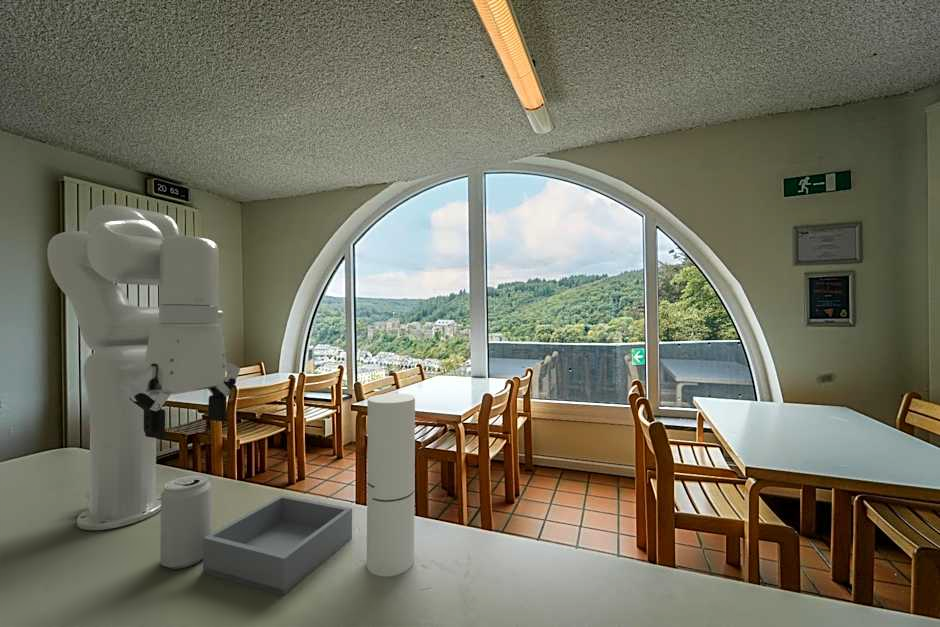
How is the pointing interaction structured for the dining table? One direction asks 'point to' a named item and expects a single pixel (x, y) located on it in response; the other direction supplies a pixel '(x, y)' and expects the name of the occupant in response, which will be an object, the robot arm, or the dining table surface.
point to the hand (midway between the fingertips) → (188, 428)
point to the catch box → (277, 543)
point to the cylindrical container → (390, 483)
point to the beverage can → (184, 520)
